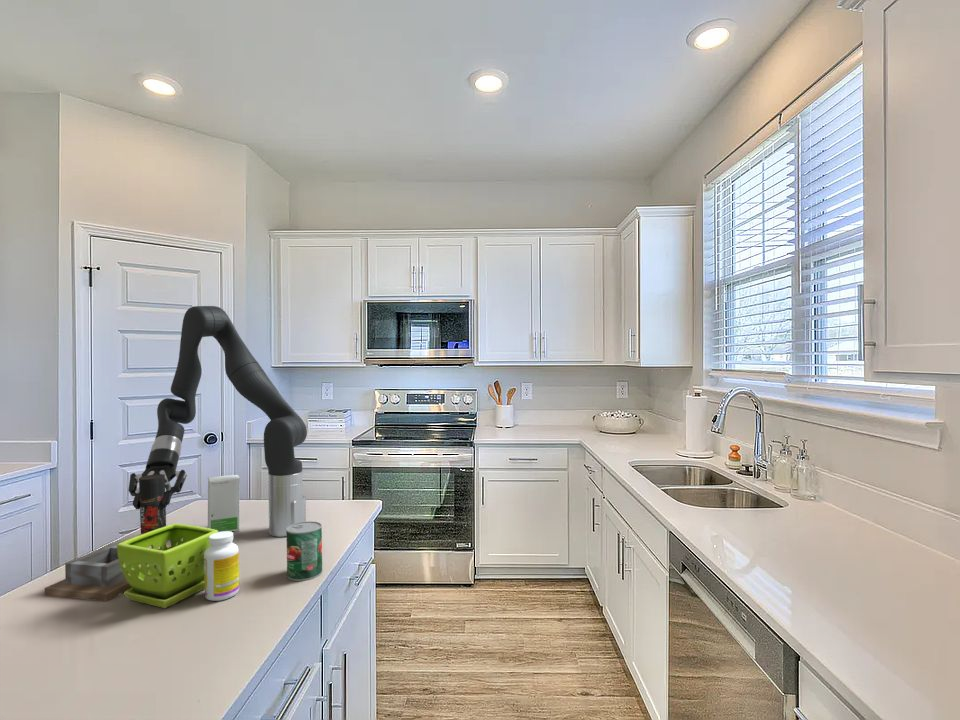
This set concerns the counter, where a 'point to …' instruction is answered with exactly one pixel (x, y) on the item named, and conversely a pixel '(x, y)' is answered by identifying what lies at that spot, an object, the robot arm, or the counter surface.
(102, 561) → the jig
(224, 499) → the skincare box
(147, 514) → the deodorant
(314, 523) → the canned tomato
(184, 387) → the robot arm
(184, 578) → the flower pot
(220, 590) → the supplement bottle
